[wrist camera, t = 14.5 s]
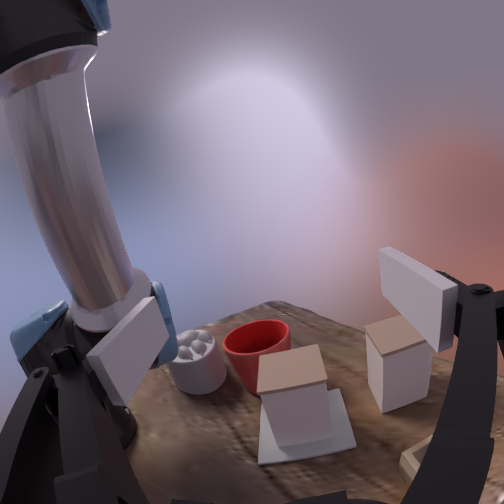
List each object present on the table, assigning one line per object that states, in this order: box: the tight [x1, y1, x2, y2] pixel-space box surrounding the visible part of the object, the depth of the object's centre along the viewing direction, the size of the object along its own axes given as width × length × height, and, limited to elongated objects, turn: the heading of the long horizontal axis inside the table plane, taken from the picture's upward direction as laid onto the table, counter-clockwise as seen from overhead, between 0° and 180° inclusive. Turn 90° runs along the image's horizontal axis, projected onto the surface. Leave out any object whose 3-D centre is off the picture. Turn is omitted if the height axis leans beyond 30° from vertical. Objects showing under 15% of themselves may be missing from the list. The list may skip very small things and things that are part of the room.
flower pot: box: [223, 320, 291, 395], centre depth 43 cm, size 11×11×10 cm
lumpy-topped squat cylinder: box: [166, 330, 227, 395], centre depth 49 cm, size 10×13×9 cm
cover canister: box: [257, 344, 333, 447], centre depth 30 cm, size 7×7×10 cm
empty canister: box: [363, 314, 433, 414], centre depth 31 cm, size 7×7×10 cm
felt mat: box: [258, 388, 357, 465], centre depth 31 cm, size 12×12×1 cm
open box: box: [398, 434, 433, 487], centre depth 17 cm, size 4×4×4 cm
